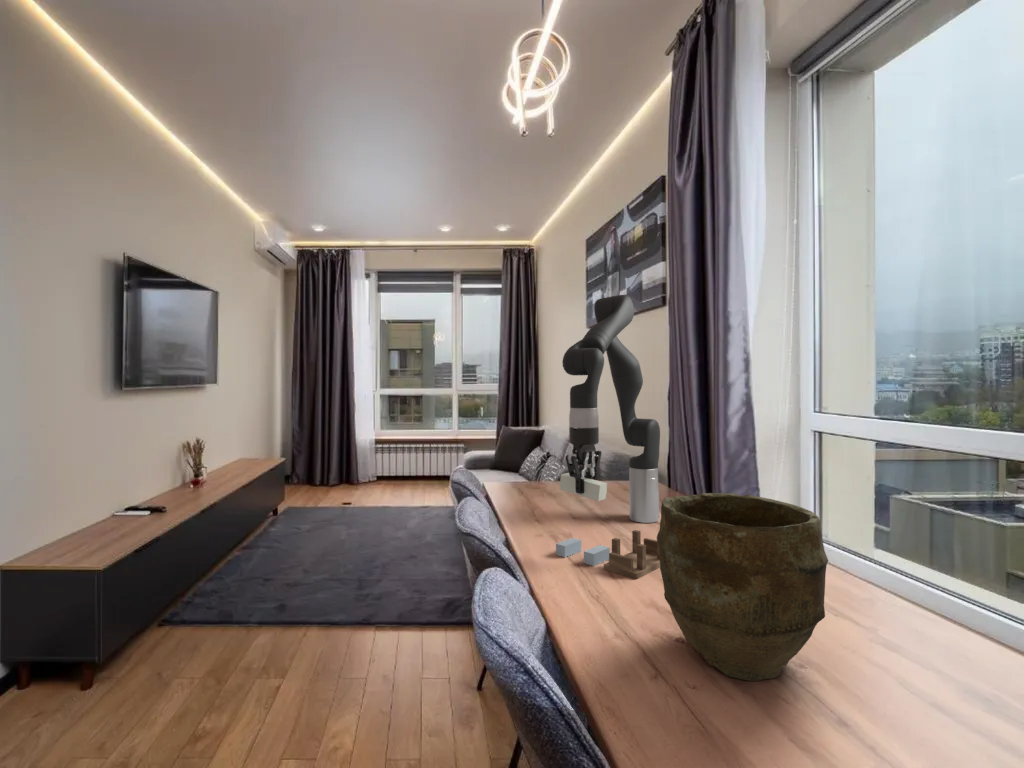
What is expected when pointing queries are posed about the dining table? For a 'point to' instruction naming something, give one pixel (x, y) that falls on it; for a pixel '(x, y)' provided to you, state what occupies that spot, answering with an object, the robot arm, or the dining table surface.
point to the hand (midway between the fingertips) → (584, 491)
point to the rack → (634, 557)
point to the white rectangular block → (591, 487)
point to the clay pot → (742, 578)
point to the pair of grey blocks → (590, 556)
